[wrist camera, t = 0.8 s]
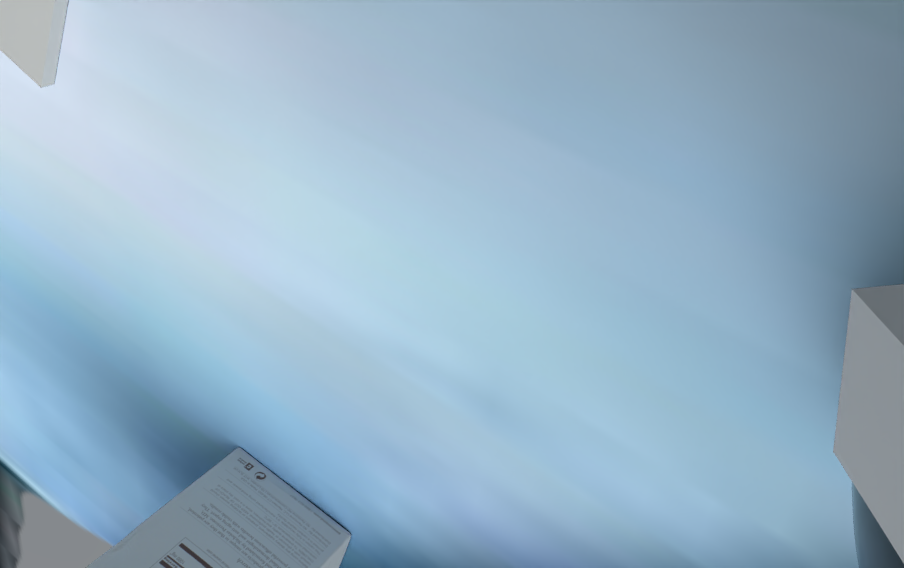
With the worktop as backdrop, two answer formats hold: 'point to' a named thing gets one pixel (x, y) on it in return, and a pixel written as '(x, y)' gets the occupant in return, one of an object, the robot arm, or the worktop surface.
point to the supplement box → (233, 525)
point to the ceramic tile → (33, 36)
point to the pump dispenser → (871, 538)
